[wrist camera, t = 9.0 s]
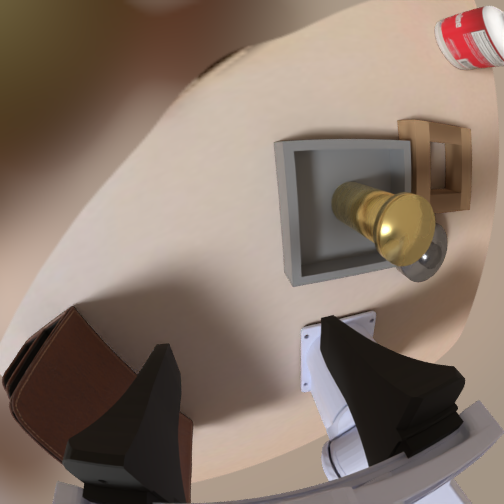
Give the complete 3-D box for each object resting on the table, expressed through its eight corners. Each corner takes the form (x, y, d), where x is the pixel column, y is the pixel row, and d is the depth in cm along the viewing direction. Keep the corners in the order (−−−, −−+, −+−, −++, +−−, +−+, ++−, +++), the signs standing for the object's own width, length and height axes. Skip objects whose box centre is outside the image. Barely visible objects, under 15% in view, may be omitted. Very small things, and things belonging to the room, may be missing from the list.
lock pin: (371, 226, 22) (430, 261, 15) (326, 230, 22) (376, 271, 14) (372, 176, 20) (438, 194, 13) (326, 177, 20) (382, 195, 13)
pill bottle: (448, 16, 15) (517, -2, 5) (474, 61, 17) (546, 56, 7) (423, 27, 16) (502, 3, 6) (454, 77, 18) (536, 72, 8)
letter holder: (73, 302, 22) (2, 416, 9) (194, 420, 29) (197, 522, 16) (27, 338, 22) (-28, 427, 9) (138, 436, 30) (129, 522, 17)
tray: (390, 253, 24) (405, 264, 22) (284, 272, 23) (292, 286, 21) (391, 140, 20) (410, 140, 18) (273, 142, 19) (282, 141, 17)
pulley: (432, 268, 26) (448, 279, 23) (390, 279, 25) (405, 292, 22) (438, 214, 23) (457, 222, 21) (394, 220, 23) (413, 229, 20)
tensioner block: (454, 203, 23) (469, 209, 21) (399, 209, 22) (415, 215, 20) (454, 128, 20) (470, 129, 18) (397, 120, 20) (414, 119, 17)
